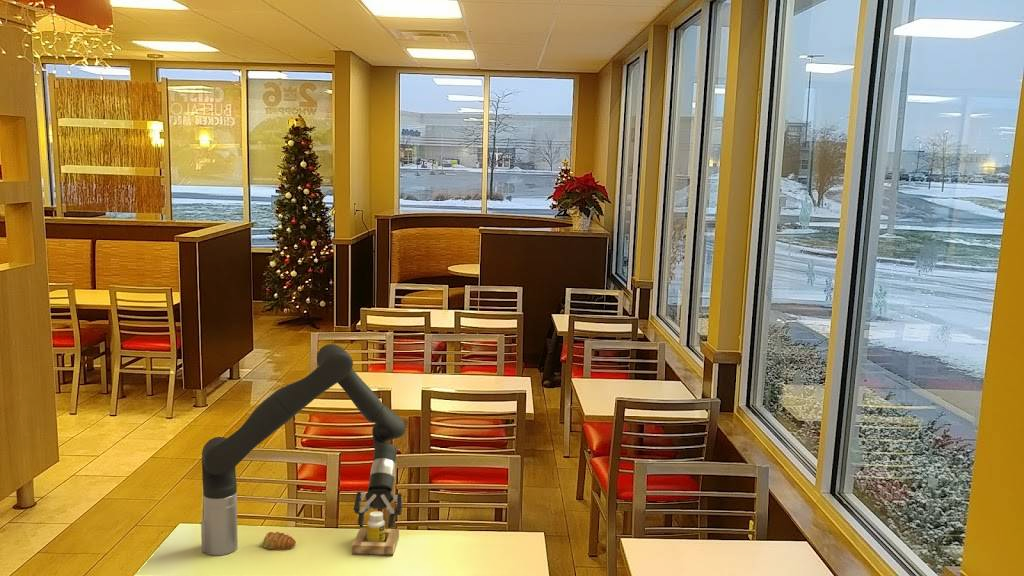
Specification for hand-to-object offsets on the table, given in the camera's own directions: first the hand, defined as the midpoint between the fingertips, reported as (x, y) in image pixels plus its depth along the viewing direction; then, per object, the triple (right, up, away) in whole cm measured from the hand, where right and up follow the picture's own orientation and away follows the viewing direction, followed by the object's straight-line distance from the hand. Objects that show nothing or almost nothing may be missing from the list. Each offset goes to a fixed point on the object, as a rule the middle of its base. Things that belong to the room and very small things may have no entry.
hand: (375, 527), depth 239 cm
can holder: (0, -6, +2) cm, 7 cm away
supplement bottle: (0, -6, +2) cm, 7 cm away
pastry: (-29, -6, +1) cm, 30 cm away
